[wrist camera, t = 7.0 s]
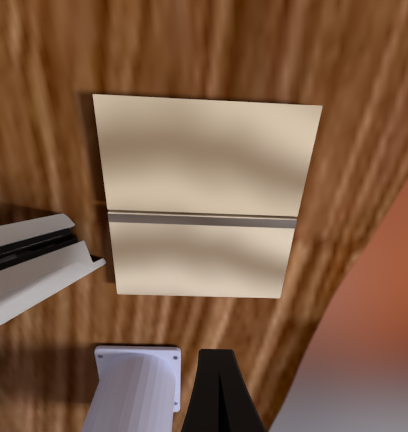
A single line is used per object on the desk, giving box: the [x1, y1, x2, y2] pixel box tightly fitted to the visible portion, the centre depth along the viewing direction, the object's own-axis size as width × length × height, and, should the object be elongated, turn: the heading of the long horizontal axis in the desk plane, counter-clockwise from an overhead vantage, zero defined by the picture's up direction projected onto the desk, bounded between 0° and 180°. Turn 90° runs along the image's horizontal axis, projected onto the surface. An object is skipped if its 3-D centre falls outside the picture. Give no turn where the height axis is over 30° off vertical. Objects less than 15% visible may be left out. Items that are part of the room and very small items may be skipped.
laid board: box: [108, 210, 297, 298], centre depth 19 cm, size 7×13×1 cm, turn 87°
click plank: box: [93, 94, 322, 216], centre depth 16 cm, size 7×13×1 cm, turn 87°
